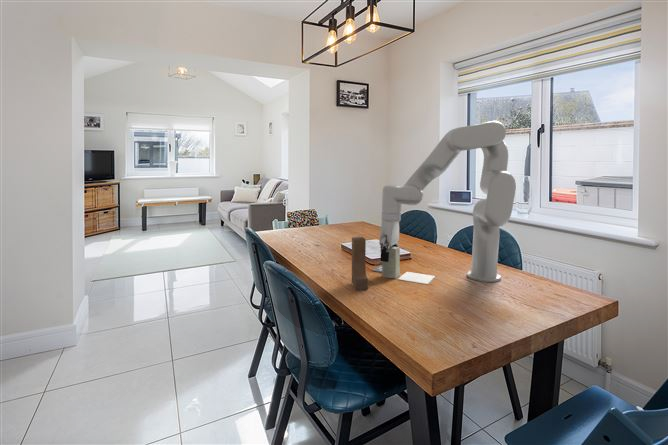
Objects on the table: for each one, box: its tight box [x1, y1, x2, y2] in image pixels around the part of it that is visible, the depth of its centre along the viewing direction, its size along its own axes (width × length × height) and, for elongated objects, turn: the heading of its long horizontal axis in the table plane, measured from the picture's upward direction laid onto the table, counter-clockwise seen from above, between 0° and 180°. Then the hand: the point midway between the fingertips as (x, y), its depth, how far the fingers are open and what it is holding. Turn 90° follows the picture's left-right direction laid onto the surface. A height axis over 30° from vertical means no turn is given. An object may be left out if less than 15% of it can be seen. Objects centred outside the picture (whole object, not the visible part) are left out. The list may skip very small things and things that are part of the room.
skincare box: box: [381, 246, 401, 279], centre depth 145 cm, size 6×4×12 cm
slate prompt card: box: [371, 265, 382, 274], centre depth 156 cm, size 8×5×1 cm, turn 149°
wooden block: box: [351, 236, 369, 292], centre depth 133 cm, size 9×4×18 cm, turn 7°
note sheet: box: [397, 271, 436, 285], centre depth 144 cm, size 11×12×1 cm
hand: (389, 258), depth 145 cm, fingers open, 9 cm apart
